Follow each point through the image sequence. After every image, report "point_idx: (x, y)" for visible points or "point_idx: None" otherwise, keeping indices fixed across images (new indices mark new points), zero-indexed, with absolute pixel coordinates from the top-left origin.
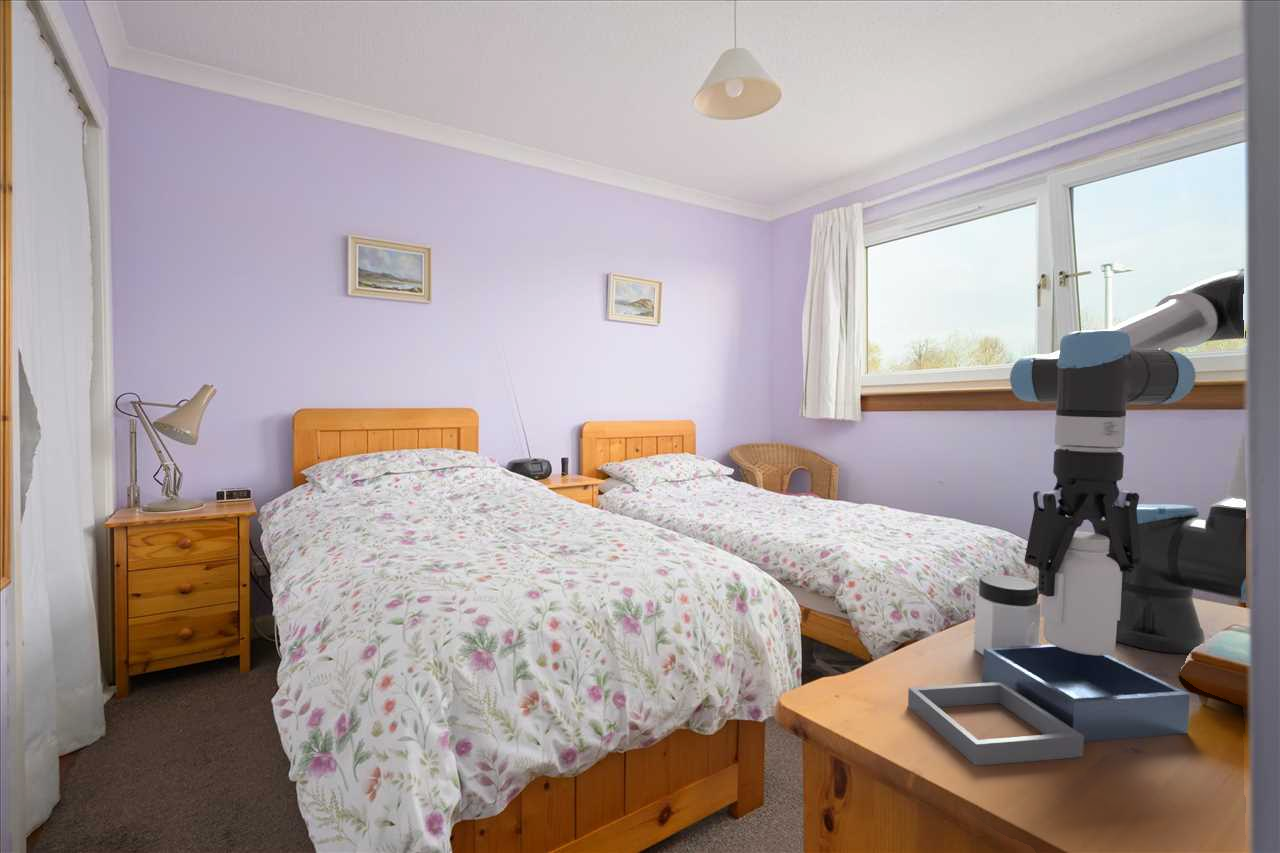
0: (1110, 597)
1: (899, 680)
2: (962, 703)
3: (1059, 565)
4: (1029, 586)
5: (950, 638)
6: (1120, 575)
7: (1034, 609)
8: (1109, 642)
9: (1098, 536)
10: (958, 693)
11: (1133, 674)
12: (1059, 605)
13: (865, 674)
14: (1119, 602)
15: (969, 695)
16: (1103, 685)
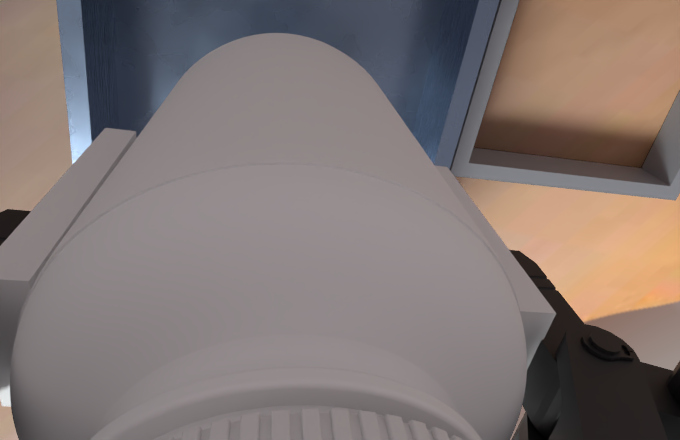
0: (283, 93)
1: (558, 273)
2: (543, 157)
3: (582, 364)
4: None
5: None
6: (7, 261)
7: None
8: (268, 39)
9: None
10: (565, 169)
11: (90, 56)
12: (464, 203)
13: (596, 305)
14: (83, 165)
15: (536, 162)
16: (128, 128)
